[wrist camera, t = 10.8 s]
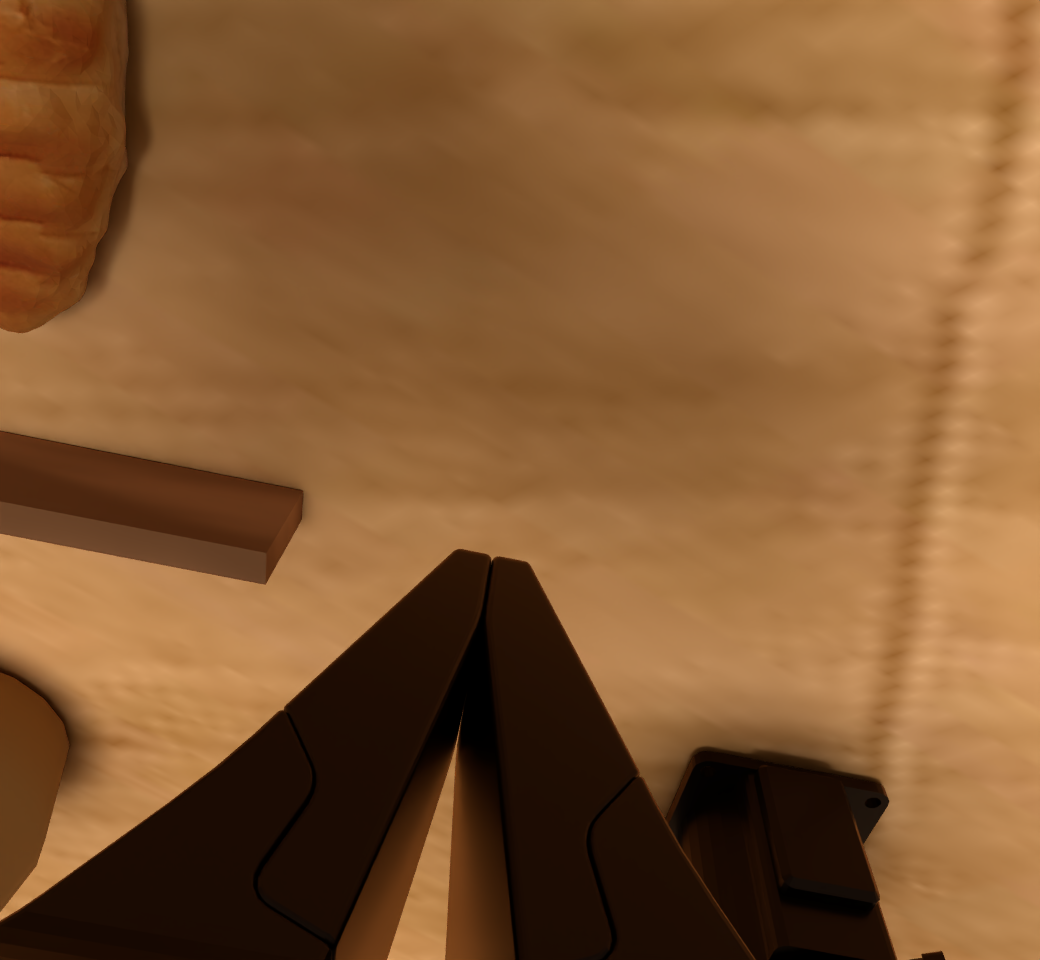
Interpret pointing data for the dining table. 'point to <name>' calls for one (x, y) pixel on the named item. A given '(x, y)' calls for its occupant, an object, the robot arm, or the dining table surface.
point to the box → (144, 509)
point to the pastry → (57, 148)
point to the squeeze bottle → (26, 779)
